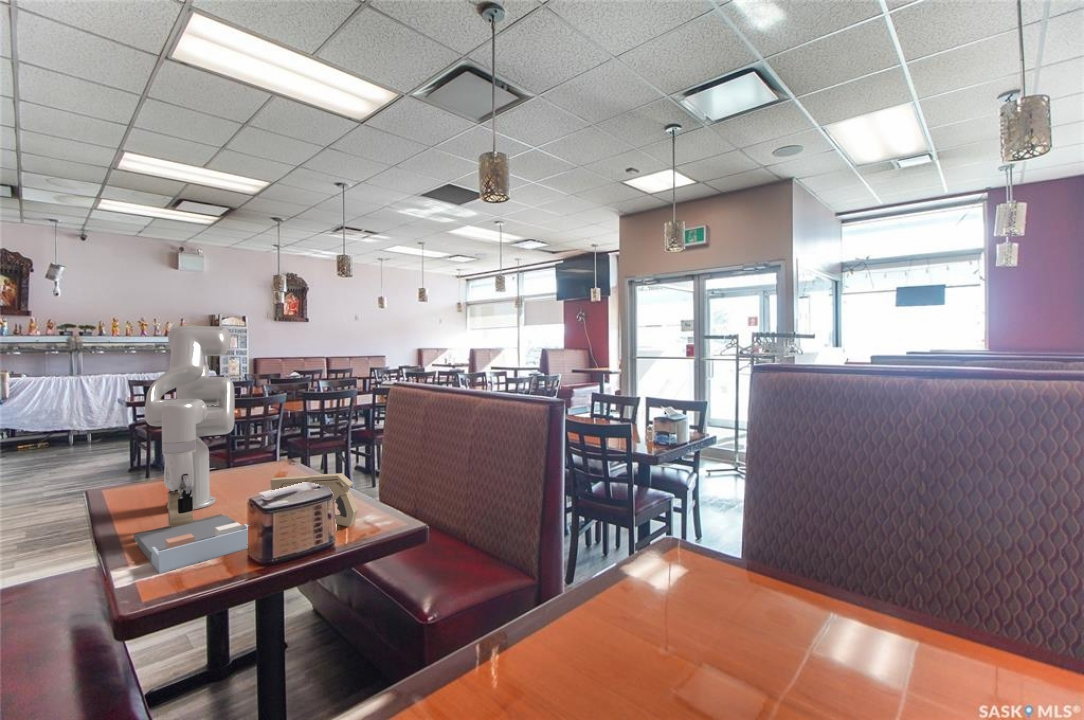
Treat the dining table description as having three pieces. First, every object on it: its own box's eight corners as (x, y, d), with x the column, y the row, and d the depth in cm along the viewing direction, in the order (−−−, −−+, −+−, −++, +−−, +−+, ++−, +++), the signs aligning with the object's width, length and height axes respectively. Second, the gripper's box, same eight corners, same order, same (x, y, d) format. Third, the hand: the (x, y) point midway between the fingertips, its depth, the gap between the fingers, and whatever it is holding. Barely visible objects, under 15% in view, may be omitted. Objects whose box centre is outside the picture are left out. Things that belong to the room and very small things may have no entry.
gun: (359, 523, 141) (355, 472, 141) (354, 527, 138) (349, 475, 138) (281, 526, 144) (276, 476, 143) (274, 531, 140) (269, 479, 140)
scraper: (133, 540, 128) (132, 499, 128) (220, 520, 143) (220, 483, 143) (135, 543, 126) (134, 502, 126) (224, 522, 141) (223, 485, 141)
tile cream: (215, 527, 123) (218, 530, 121) (237, 522, 127) (241, 524, 125) (215, 546, 123) (219, 550, 121) (237, 541, 127) (241, 544, 125)
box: (151, 563, 115) (150, 542, 115) (245, 538, 130) (245, 519, 130) (159, 573, 110) (159, 552, 109) (256, 546, 125) (256, 527, 125)
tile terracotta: (165, 539, 115) (168, 543, 113) (190, 533, 119) (194, 536, 117) (166, 560, 115) (169, 564, 113) (191, 553, 119) (194, 557, 117)
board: (137, 545, 125) (137, 535, 125) (226, 523, 140) (226, 515, 140) (150, 562, 115) (150, 552, 115) (244, 537, 130) (244, 528, 130)
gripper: (155, 444, 137) (156, 504, 137) (170, 454, 126) (172, 519, 126) (187, 440, 143) (188, 498, 143) (204, 449, 131) (205, 511, 132)
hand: (180, 508), depth 135 cm, fingers open, 9 cm apart
